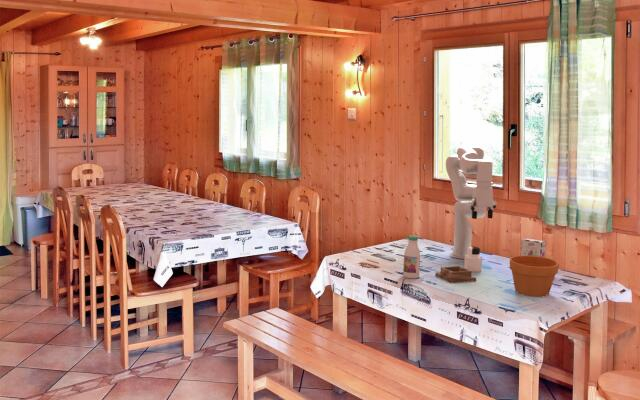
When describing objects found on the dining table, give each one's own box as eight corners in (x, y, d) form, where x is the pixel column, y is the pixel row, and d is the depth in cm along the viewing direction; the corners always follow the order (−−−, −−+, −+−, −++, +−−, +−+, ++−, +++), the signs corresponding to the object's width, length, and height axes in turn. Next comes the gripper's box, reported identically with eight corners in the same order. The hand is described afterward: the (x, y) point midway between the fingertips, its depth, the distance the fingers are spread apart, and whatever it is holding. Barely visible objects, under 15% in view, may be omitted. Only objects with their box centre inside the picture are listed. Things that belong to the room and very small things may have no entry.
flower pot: (544, 302, 276) (547, 268, 274) (499, 292, 289) (501, 260, 287) (563, 293, 291) (566, 261, 289) (519, 283, 305) (522, 253, 303)
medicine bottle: (477, 268, 333) (478, 245, 331) (481, 271, 326) (482, 248, 324) (463, 268, 333) (465, 245, 331) (467, 271, 326) (468, 248, 324)
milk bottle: (409, 274, 317) (411, 234, 314) (422, 277, 312) (424, 236, 309) (399, 276, 312) (401, 235, 309) (412, 279, 306) (414, 238, 304)
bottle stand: (435, 275, 315) (435, 266, 315) (459, 273, 321) (460, 264, 320) (451, 282, 303) (451, 273, 302) (476, 280, 308) (476, 271, 307)
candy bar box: (544, 272, 329) (546, 241, 326) (539, 274, 325) (542, 242, 323) (523, 268, 336) (525, 237, 334) (519, 269, 332) (521, 238, 330)
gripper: (493, 184, 333) (491, 217, 334) (465, 184, 326) (463, 217, 328) (502, 185, 326) (500, 219, 328) (474, 185, 319) (472, 219, 321)
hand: (482, 218), depth 328 cm, fingers open, 9 cm apart
